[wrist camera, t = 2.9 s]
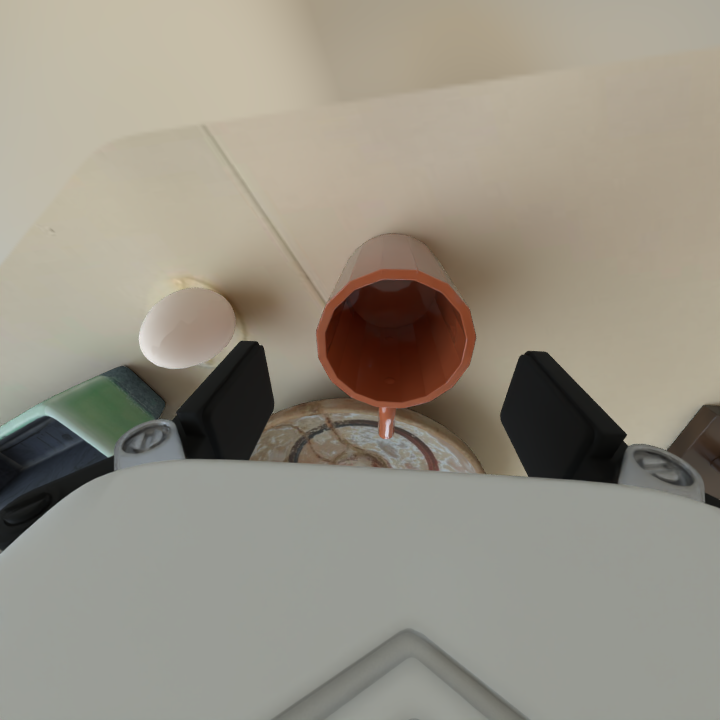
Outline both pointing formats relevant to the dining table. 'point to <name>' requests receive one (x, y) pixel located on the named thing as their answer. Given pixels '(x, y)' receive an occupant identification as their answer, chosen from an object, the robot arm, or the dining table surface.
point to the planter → (72, 430)
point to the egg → (187, 328)
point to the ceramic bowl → (361, 439)
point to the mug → (395, 328)
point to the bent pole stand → (702, 447)
